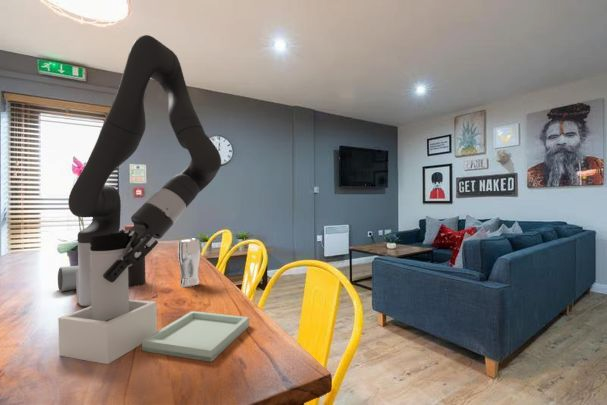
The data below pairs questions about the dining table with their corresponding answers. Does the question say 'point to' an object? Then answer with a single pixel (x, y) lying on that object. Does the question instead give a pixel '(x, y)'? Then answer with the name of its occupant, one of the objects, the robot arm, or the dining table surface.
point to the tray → (197, 335)
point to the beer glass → (189, 261)
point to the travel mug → (107, 295)
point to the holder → (106, 333)
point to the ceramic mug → (67, 278)
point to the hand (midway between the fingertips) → (100, 276)
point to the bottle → (136, 270)
